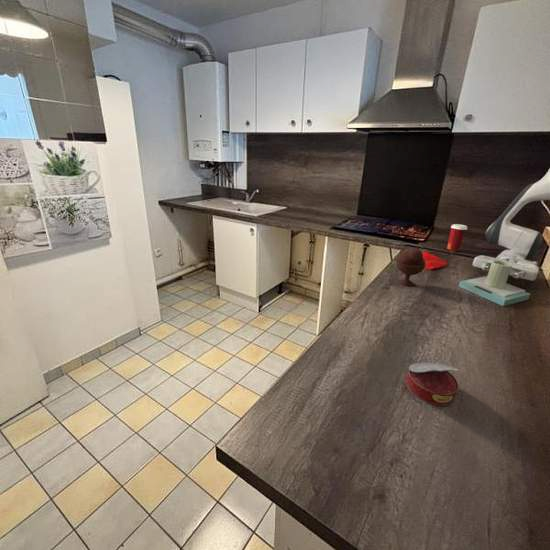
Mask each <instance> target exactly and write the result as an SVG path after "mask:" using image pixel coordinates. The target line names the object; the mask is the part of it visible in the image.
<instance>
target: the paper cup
mask: <svg viewBox="0 0 550 550" xmlns="http://www.w3.org/2000/svg"><path fill="white" fill-rule="evenodd" d="M450 228H451V229H450V233H449V237H448V242H447V247H446V250H447V249H449V250H459V251H460V249H461V246H462V243H463V240H464V237H465V236H466V235H465V234H466V232H467V230H468V226H467V225H465V224H460V223H454V224H451V226H450Z"/></svg>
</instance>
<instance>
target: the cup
mask: <svg viewBox="0 0 550 550" xmlns="http://www.w3.org/2000/svg"><path fill="white" fill-rule="evenodd" d="M512 266H513V265H512V264H510V263H508V262H504V261H498V260H494V261H492V264H491V267H490V269H489V270H488V272H487V275H486V276H487V278H486V281H485V284H486V285H488V286H490V287H493V288H498V289H502V288H504V286H505V284H506V283H507V282H508V279H509V276H510V275H509V274H510V271H511V268H512Z"/></svg>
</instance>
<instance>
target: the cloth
mask: <svg viewBox="0 0 550 550" xmlns="http://www.w3.org/2000/svg"><path fill="white" fill-rule="evenodd" d="M422 253H423V258H424V261H425V263H426V265H425V268H424V270H431V271H432V270H436V269H439V268H443V267H446V266H448V262H447V261H445V260H444V259H441V258H440V257H439V256H436V255H434V254H431V252H429V251H423V252H422Z"/></svg>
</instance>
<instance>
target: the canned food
mask: <svg viewBox="0 0 550 550" xmlns="http://www.w3.org/2000/svg"><path fill="white" fill-rule="evenodd" d="M459 371H460V369H458V368H456V367H452V366H450V365H445V364H441V363H435V362H434V363H433V362H423V361H422V362H421V361H420V362H415V363H412V364H410V365H409V367H408V372H407V374H406V375H407V376H406V378H405V383H406V386H407V388H408V389H409V391H410V392H411V393H412V394H413V395H414V396H415V397H417V398H418V399H420V400H422V401H424V402H426V403H428V404H431V405H436V406H447V405H449V404H451V403H453V402H454V400H455V398H456V395H457V392H458V390H459V383H458V381H457V379H456V377H455V376H454V375H453V374H452V373H451V372H459Z"/></svg>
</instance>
